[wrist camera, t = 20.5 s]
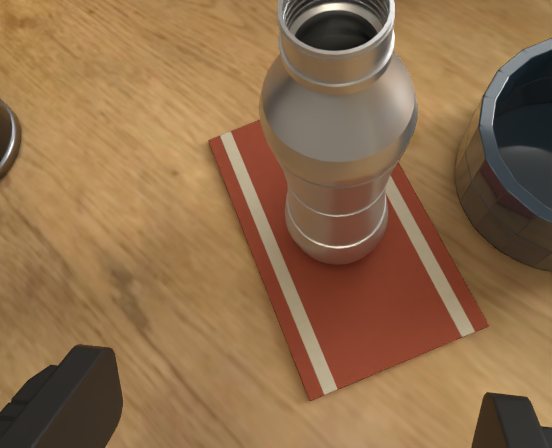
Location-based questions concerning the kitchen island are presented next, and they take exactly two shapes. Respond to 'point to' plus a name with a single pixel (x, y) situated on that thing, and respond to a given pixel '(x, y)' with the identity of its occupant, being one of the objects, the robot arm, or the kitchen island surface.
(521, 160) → the pot
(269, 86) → the metal water bottle
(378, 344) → the towel
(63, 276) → the kitchen island surface
